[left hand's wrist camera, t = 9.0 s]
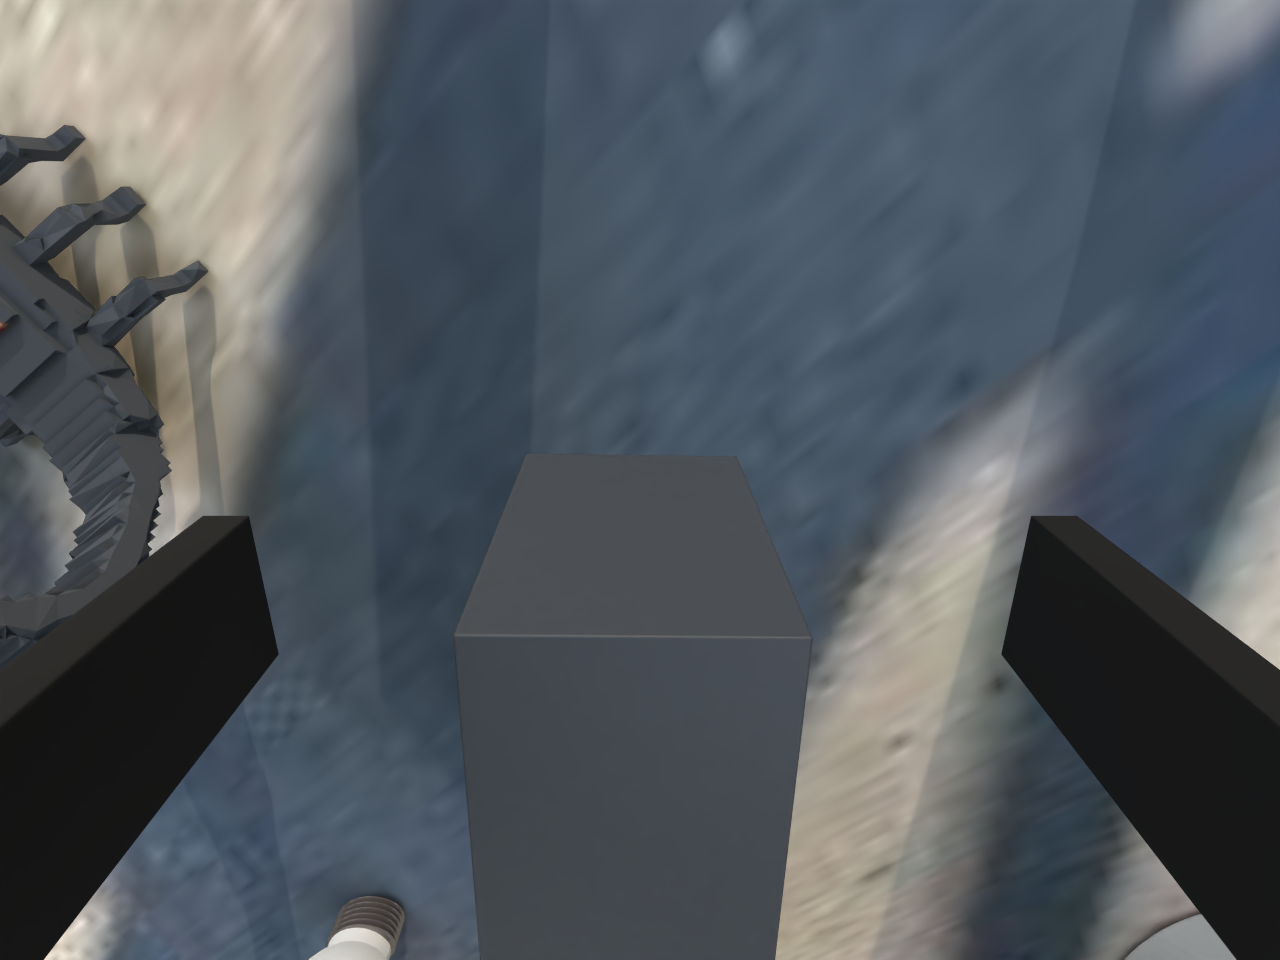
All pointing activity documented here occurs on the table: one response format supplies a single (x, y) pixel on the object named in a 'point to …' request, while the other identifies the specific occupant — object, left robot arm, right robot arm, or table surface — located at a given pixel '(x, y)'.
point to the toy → (77, 394)
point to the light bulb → (364, 930)
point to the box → (630, 714)
